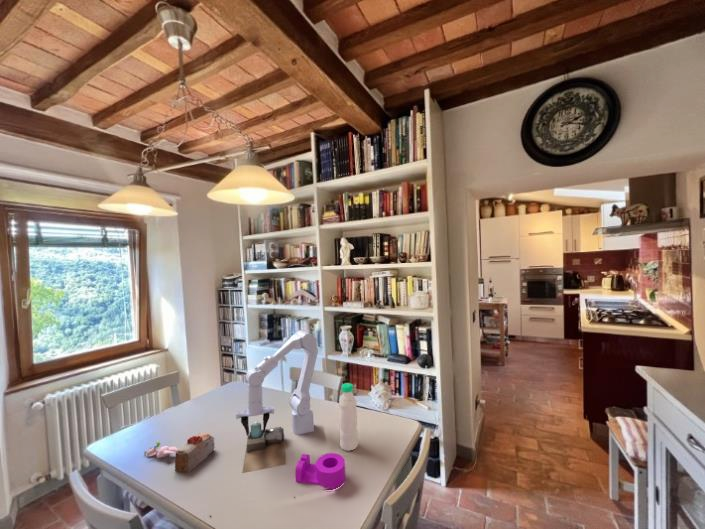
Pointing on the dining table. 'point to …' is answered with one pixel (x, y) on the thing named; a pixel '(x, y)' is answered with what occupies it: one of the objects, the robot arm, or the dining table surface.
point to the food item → (193, 452)
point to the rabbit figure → (160, 451)
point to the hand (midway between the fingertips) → (256, 433)
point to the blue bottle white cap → (256, 430)
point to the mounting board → (265, 457)
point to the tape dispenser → (321, 470)
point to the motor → (265, 439)
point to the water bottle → (348, 418)
